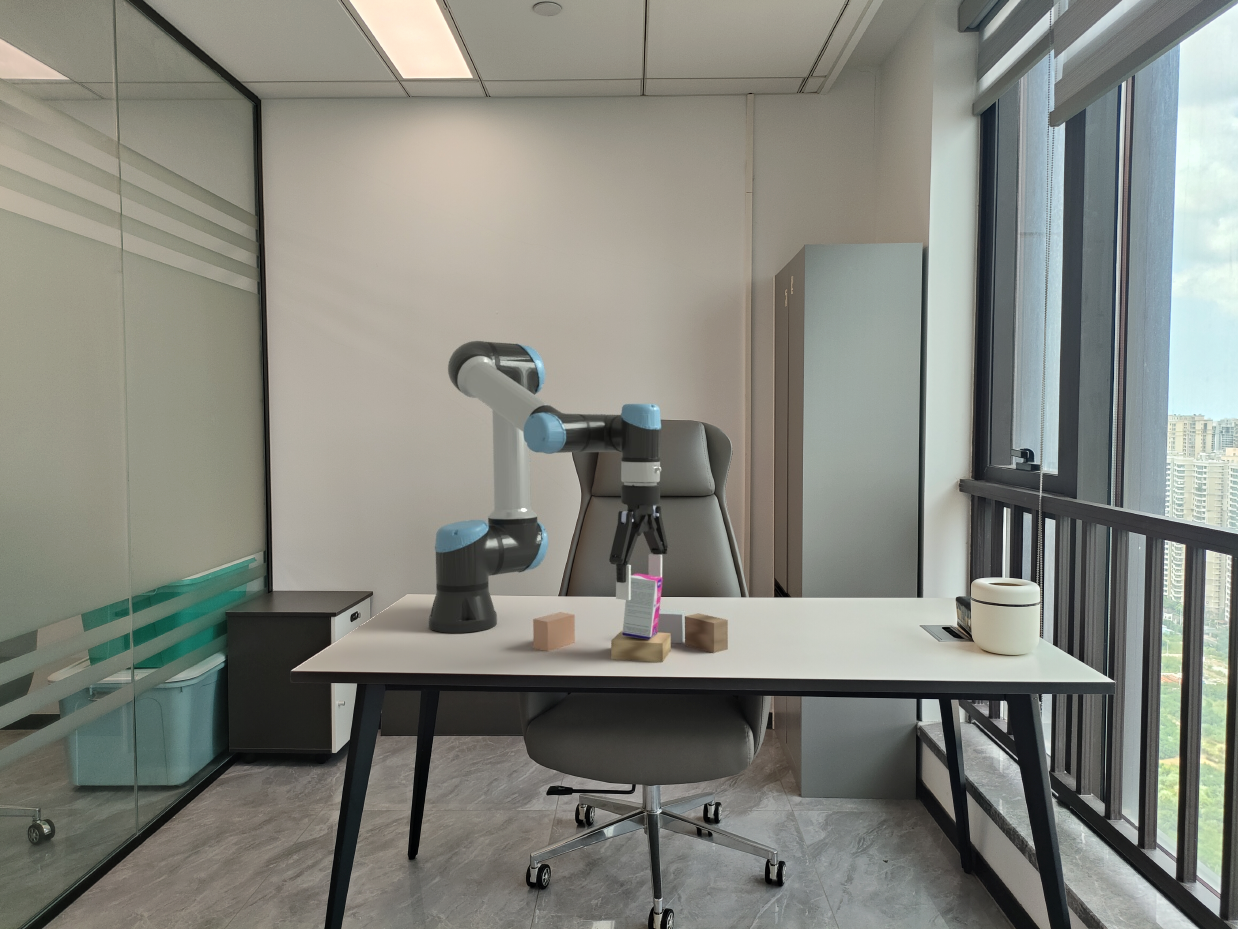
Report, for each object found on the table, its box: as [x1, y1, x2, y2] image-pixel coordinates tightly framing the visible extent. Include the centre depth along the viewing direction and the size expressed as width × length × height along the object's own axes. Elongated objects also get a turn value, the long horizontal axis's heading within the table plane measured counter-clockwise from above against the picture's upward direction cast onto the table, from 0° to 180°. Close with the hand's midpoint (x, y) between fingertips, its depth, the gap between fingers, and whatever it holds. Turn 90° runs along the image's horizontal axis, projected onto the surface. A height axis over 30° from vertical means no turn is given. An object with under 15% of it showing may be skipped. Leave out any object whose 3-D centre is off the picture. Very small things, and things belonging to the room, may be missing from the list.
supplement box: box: [622, 572, 663, 640], centre depth 152 cm, size 6×6×12 cm
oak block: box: [610, 630, 672, 663], centre depth 152 cm, size 10×8×4 cm
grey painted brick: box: [657, 609, 686, 644], centre depth 163 cm, size 8×4×6 cm, turn 78°
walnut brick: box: [684, 613, 729, 654], centre depth 157 cm, size 8×4×6 cm, turn 41°
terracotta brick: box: [532, 611, 576, 652], centre depth 159 cm, size 8×4×6 cm, turn 141°
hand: (639, 592), depth 152 cm, fingers open, 13 cm apart
